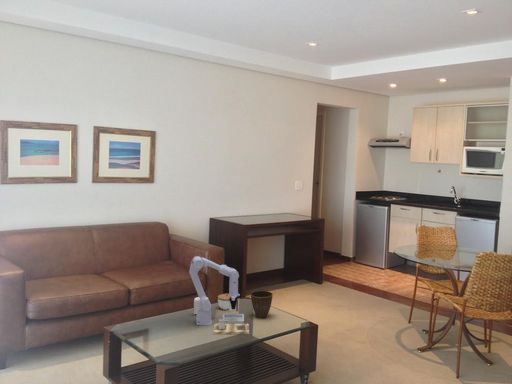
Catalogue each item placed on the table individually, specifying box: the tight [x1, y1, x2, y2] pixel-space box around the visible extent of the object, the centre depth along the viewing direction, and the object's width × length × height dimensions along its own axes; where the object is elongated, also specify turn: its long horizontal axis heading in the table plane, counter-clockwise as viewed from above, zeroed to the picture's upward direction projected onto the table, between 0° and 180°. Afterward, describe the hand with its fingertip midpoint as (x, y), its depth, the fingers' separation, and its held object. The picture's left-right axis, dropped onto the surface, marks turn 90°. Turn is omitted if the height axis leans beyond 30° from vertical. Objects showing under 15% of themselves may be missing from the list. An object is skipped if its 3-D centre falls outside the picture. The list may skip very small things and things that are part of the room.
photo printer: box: [193, 296, 201, 315], centre depth 330 cm, size 10×4×12 cm, turn 98°
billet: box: [218, 318, 226, 330], centre depth 302 cm, size 4×6×6 cm, turn 2°
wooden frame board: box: [212, 323, 250, 335], centre depth 302 cm, size 22×14×2 cm, turn 92°
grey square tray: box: [222, 313, 245, 324], centre depth 318 cm, size 14×14×2 cm
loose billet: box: [228, 300, 239, 312], centre depth 317 cm, size 4×6×6 cm, turn 91°
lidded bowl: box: [217, 292, 230, 311], centre depth 343 cm, size 13×13×11 cm
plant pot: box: [250, 290, 274, 319], centre depth 327 cm, size 15×15×16 cm
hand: (233, 308), depth 318 cm, fingers closed on loose billet, 4 cm apart
